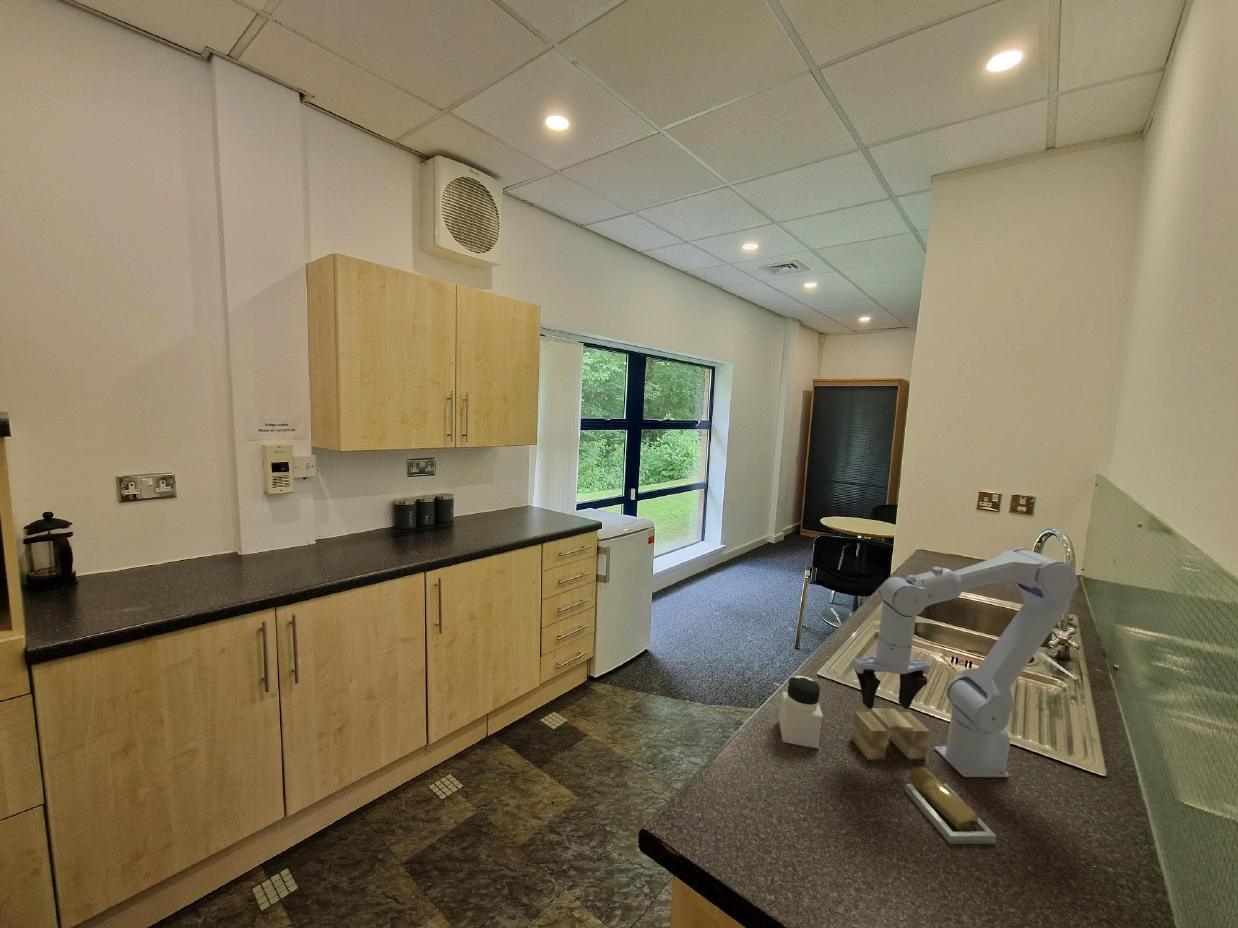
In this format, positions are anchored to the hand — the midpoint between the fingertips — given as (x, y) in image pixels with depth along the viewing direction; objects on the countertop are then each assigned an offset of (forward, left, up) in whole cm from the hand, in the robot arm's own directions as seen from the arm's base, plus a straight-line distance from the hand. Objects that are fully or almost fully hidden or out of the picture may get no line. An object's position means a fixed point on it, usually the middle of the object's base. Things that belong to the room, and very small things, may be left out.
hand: (885, 705), depth 97 cm
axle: (-2, +13, -10) cm, 17 cm away
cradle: (-3, +14, -10) cm, 18 cm away
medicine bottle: (+14, -6, -11) cm, 19 cm away
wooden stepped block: (-3, -2, -10) cm, 11 cm away
